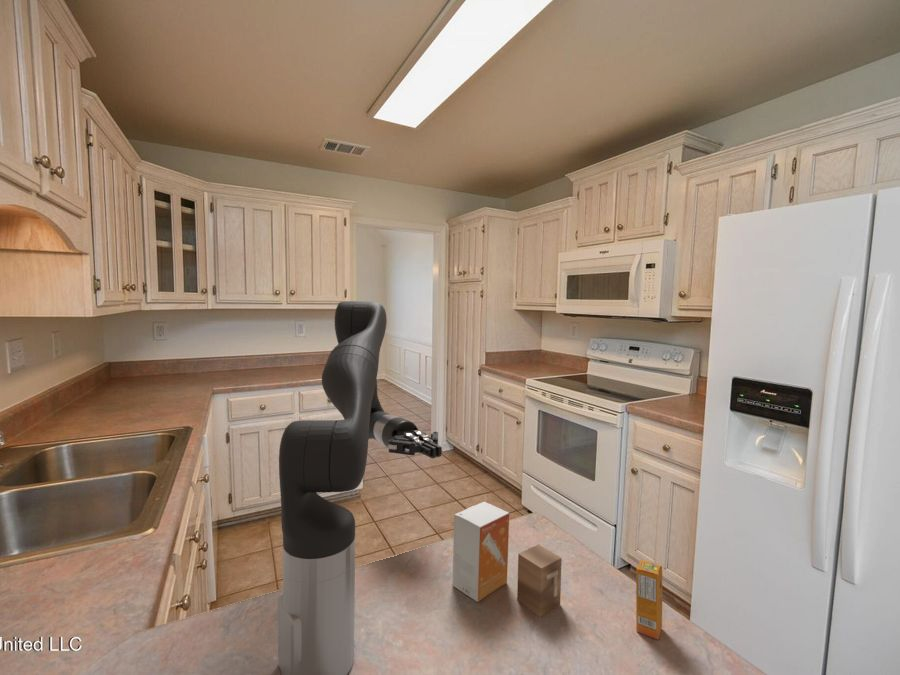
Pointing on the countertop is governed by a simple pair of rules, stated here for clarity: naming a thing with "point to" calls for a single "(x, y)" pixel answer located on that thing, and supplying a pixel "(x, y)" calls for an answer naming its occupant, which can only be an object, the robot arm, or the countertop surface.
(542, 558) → the walnut digit block
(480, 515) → the small box
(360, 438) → the robot arm
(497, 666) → the countertop surface
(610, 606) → the countertop surface
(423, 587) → the countertop surface
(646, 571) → the supplement box
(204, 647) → the countertop surface
